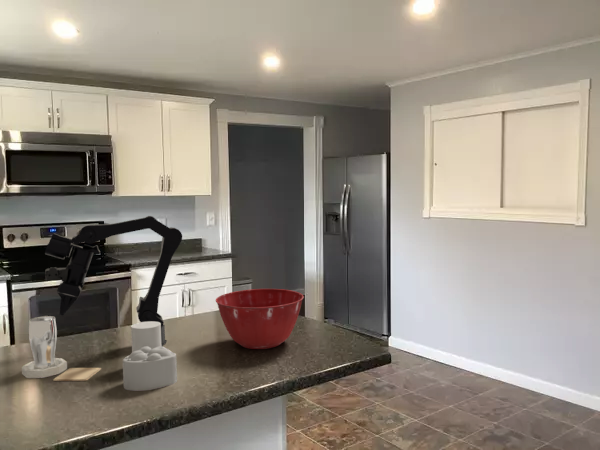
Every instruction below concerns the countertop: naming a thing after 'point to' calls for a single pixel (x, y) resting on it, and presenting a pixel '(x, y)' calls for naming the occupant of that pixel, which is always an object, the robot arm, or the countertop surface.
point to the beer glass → (43, 341)
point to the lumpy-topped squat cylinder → (149, 369)
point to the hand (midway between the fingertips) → (62, 311)
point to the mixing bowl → (260, 316)
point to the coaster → (77, 374)
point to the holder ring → (41, 373)
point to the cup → (146, 335)
